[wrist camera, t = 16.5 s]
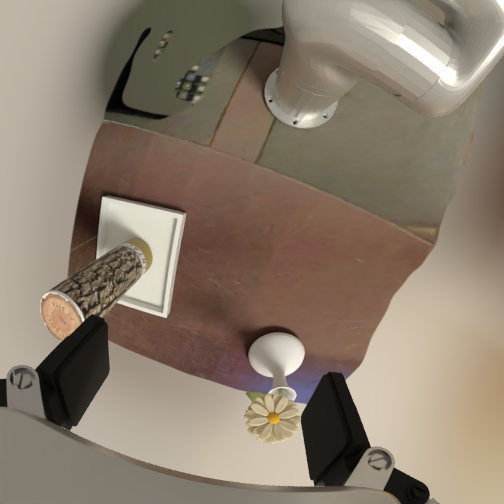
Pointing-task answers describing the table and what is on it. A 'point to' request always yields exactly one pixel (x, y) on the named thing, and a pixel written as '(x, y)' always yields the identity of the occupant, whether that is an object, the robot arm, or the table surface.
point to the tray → (155, 236)
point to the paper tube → (94, 287)
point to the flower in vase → (274, 387)
